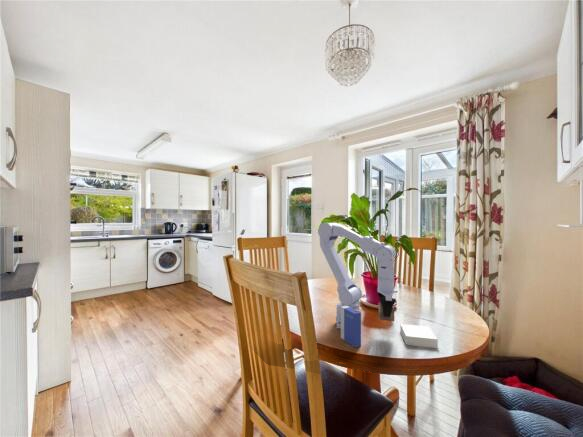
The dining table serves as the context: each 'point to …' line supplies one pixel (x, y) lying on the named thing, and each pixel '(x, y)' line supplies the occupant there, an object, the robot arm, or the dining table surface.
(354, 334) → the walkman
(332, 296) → the dining table surface
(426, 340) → the base block
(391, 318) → the walnut cube
